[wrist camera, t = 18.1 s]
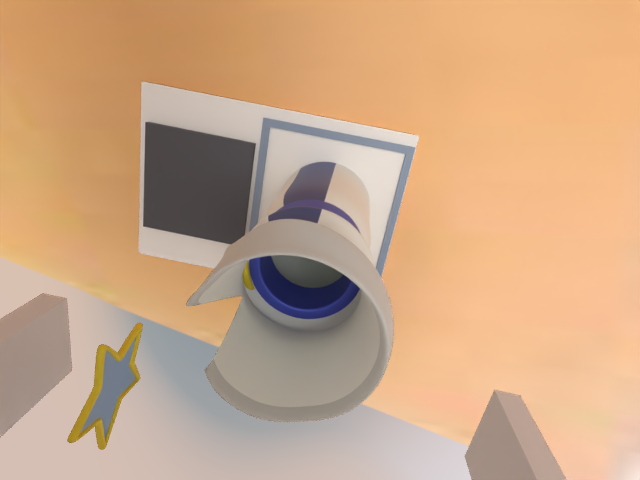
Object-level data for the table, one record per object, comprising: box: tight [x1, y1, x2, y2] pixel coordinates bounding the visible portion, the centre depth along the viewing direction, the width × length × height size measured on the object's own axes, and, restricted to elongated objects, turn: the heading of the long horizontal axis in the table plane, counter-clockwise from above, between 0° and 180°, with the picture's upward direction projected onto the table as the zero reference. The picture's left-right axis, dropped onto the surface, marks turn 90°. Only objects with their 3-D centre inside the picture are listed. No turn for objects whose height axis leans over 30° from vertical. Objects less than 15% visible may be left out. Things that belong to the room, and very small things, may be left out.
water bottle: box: [68, 162, 394, 450], centre depth 20 cm, size 8×9×25 cm
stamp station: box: [139, 81, 419, 278], centre depth 32 cm, size 15×22×1 cm
